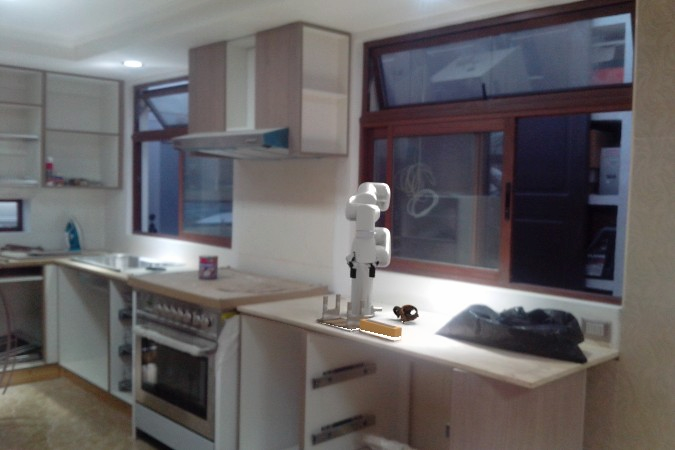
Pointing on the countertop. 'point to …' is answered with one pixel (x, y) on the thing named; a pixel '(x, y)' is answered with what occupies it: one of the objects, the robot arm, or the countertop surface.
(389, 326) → the orange rectangular bar
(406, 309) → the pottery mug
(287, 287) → the countertop surface
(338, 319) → the cradle
